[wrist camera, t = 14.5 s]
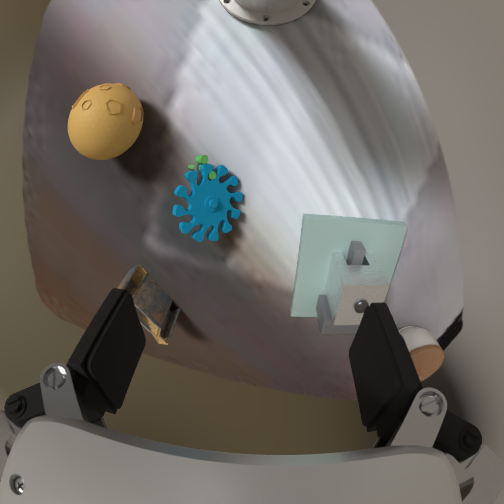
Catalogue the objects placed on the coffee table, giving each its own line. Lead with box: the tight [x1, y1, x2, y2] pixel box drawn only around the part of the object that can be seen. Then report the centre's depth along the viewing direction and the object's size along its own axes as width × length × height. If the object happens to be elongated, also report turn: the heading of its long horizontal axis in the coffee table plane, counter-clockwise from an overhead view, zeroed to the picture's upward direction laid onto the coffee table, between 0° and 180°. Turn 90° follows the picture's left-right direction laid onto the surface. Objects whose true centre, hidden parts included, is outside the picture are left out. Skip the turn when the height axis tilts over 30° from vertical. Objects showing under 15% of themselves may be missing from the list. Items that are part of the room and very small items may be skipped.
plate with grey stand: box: [291, 214, 407, 335], centre depth 39 cm, size 18×16×8 cm
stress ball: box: [68, 83, 143, 160], centre depth 27 cm, size 10×10×10 cm
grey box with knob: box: [325, 251, 390, 325], centre depth 37 cm, size 7×6×8 cm
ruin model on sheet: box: [118, 264, 181, 345], centre depth 43 cm, size 11×3×10 cm, turn 33°
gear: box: [173, 155, 242, 242], centre depth 35 cm, size 11×6×10 cm
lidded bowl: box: [398, 326, 444, 382], centre depth 46 cm, size 13×13×11 cm
